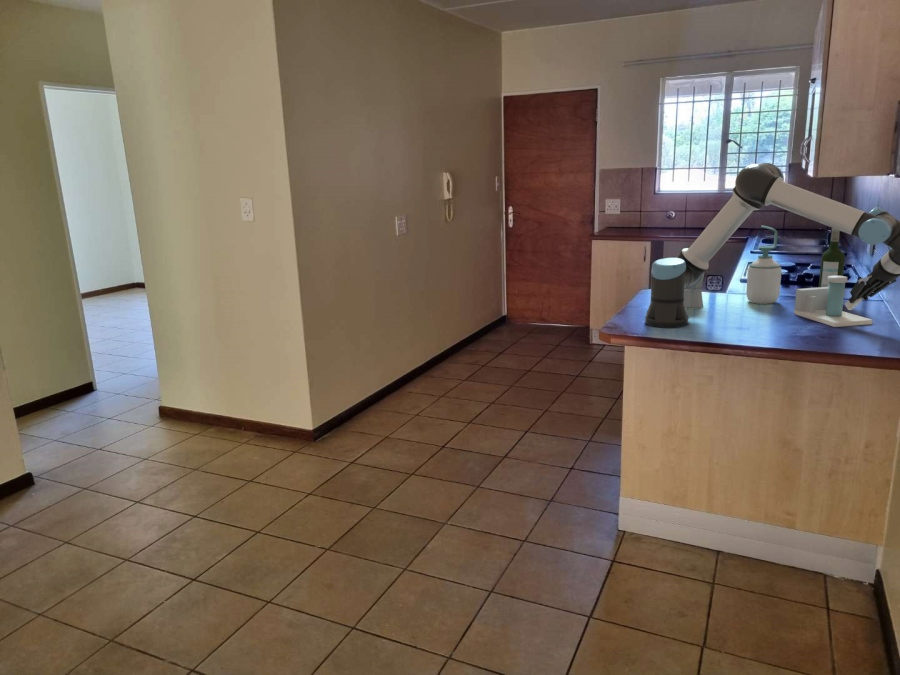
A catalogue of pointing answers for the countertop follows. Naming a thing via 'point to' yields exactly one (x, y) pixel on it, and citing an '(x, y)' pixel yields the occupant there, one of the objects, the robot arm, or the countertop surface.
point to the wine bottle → (831, 260)
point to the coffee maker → (694, 295)
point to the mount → (823, 308)
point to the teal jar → (835, 295)
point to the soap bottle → (764, 276)
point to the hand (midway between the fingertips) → (848, 306)
